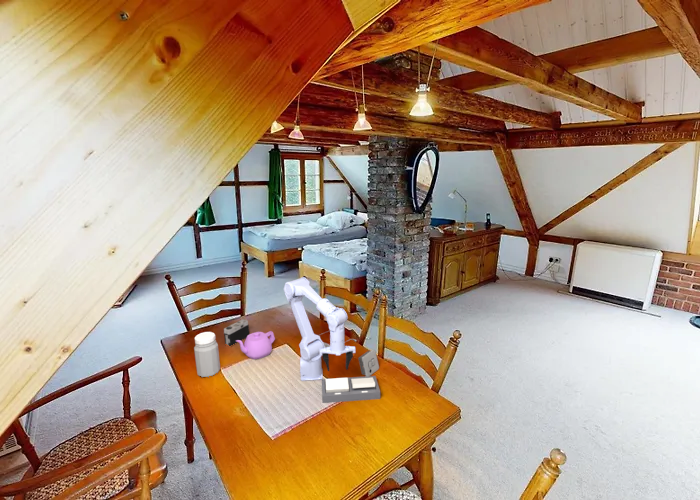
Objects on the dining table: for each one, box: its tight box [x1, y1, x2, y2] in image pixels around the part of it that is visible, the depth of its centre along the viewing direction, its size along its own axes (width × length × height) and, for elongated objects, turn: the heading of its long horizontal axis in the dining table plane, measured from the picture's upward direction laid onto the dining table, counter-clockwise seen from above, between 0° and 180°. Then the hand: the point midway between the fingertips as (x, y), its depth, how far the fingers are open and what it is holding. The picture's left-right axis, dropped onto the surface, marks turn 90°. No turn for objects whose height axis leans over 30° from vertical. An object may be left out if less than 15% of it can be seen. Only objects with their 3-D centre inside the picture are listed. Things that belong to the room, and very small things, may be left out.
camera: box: [223, 318, 250, 347], centre depth 181 cm, size 14×9×10 cm, turn 144°
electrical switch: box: [357, 349, 380, 377], centre depth 152 cm, size 9×5×9 cm, turn 141°
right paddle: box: [351, 378, 375, 388], centre depth 139 cm, size 9×6×2 cm, turn 96°
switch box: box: [321, 375, 381, 404], centre depth 139 cm, size 23×11×3 cm, turn 96°
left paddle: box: [325, 377, 349, 393], centre depth 137 cm, size 9×6×2 cm, turn 96°
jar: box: [193, 331, 221, 378], centre depth 150 cm, size 10×10×18 cm
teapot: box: [236, 330, 276, 360], centre depth 167 cm, size 13×20×11 cm
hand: (337, 368), depth 139 cm, fingers open, 7 cm apart
